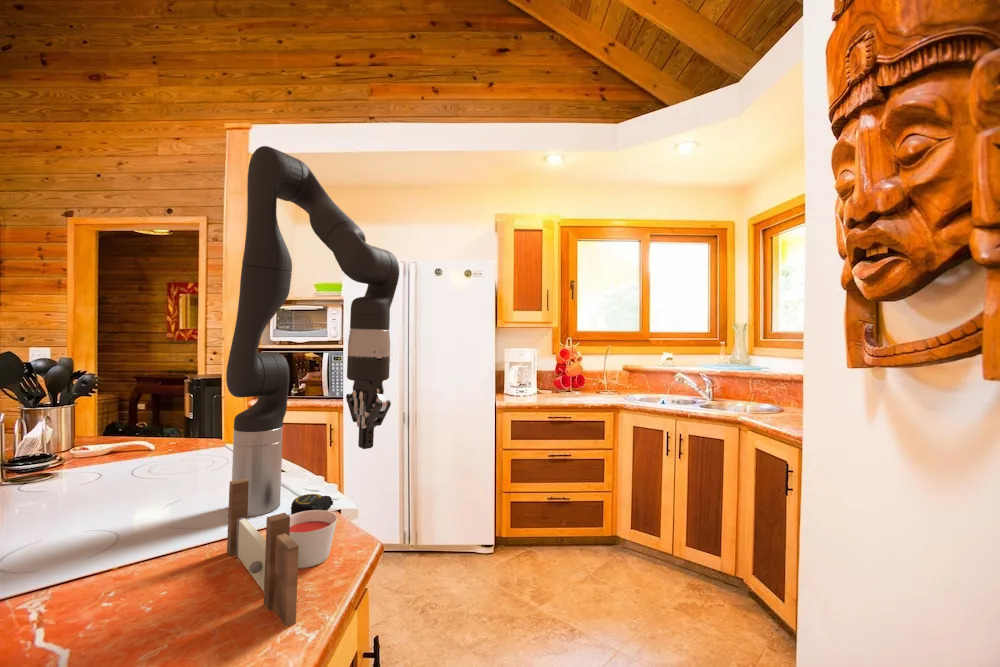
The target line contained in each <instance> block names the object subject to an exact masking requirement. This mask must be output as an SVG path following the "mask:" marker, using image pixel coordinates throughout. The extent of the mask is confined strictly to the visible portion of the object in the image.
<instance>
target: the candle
mask: <svg viewBox="0 0 1000 667" xmlns="http://www.w3.org/2000/svg"><path fill="white" fill-rule="evenodd" d="M289 516H290V533H289V537H290V538H291V539H292V540H293V541H294V542H295V543H296V544H298V545H299V550H298V569H307V568H311V567H316V566H318V565H320V564H322V563H324V562H325V561H326V560H327V559H328V558H329V556H330V553H331V549H332V546H333V545H332V544H333V540H334V536H335V530H336V525H337V522H338V516H337V514H336V513H334V512H332V511H329V510H327V511H325V510H310V511H303V512H299V513H295V514H292V515H291V514H290V515H289Z"/></svg>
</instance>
